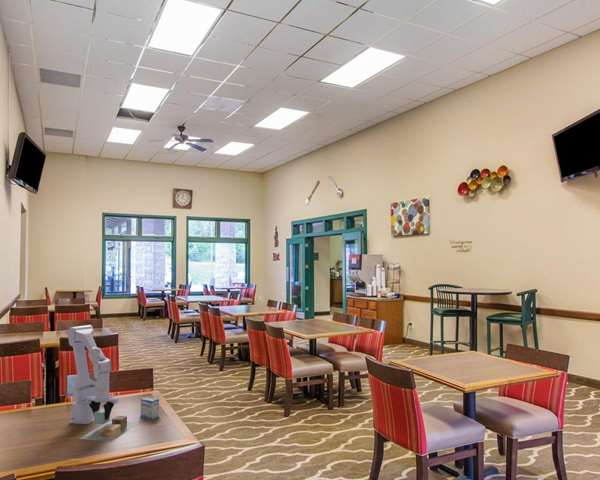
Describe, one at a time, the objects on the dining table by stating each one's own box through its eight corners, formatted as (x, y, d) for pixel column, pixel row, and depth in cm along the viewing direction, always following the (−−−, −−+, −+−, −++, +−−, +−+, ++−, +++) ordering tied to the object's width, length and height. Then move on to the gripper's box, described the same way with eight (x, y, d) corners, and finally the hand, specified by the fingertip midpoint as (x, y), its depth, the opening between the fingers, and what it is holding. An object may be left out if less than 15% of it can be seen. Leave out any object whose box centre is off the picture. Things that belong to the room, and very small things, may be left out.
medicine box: (140, 417, 220) (140, 399, 220) (147, 414, 223) (147, 396, 224) (152, 420, 216) (152, 401, 216) (159, 417, 220) (159, 398, 220)
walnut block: (111, 430, 202) (111, 419, 202) (117, 426, 206) (117, 415, 206) (121, 431, 201) (121, 419, 201) (126, 427, 206) (126, 416, 206)
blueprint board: (79, 439, 193) (79, 438, 193) (110, 421, 215) (110, 420, 215) (111, 442, 190) (111, 441, 190) (139, 423, 212) (139, 422, 212)
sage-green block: (94, 423, 203) (94, 412, 203) (100, 420, 207) (100, 408, 207) (103, 424, 202) (103, 412, 202) (109, 420, 206) (109, 409, 207)
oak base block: (99, 437, 195) (99, 428, 195) (108, 431, 201) (108, 423, 201) (112, 438, 194) (112, 429, 194) (120, 432, 199) (120, 424, 200)
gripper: (81, 389, 203) (81, 420, 202) (111, 391, 200) (111, 423, 199) (91, 384, 209) (91, 415, 209) (121, 386, 207) (120, 417, 206)
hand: (101, 418), depth 205 cm, fingers closed on sage-green block, 4 cm apart
